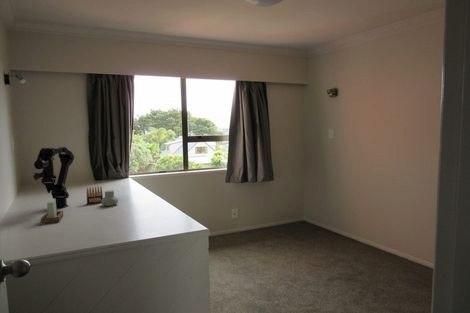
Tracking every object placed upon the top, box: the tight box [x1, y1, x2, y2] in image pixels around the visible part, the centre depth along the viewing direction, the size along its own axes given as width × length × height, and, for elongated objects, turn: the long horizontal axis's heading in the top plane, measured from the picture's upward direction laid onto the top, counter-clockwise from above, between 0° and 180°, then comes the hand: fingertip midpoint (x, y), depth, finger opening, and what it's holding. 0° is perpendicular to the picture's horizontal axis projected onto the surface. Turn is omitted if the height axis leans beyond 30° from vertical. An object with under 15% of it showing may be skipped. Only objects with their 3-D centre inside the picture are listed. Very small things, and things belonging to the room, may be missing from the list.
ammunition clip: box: [86, 185, 104, 205], centre depth 234 cm, size 11×2×12 cm, turn 114°
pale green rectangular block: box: [46, 199, 57, 218], centre depth 192 cm, size 9×3×10 cm, turn 20°
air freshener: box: [100, 189, 119, 207], centre depth 227 cm, size 11×8×10 cm
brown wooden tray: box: [40, 210, 64, 225], centre depth 192 cm, size 16×9×3 cm, turn 20°
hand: (50, 191), depth 211 cm, fingers open, 9 cm apart
